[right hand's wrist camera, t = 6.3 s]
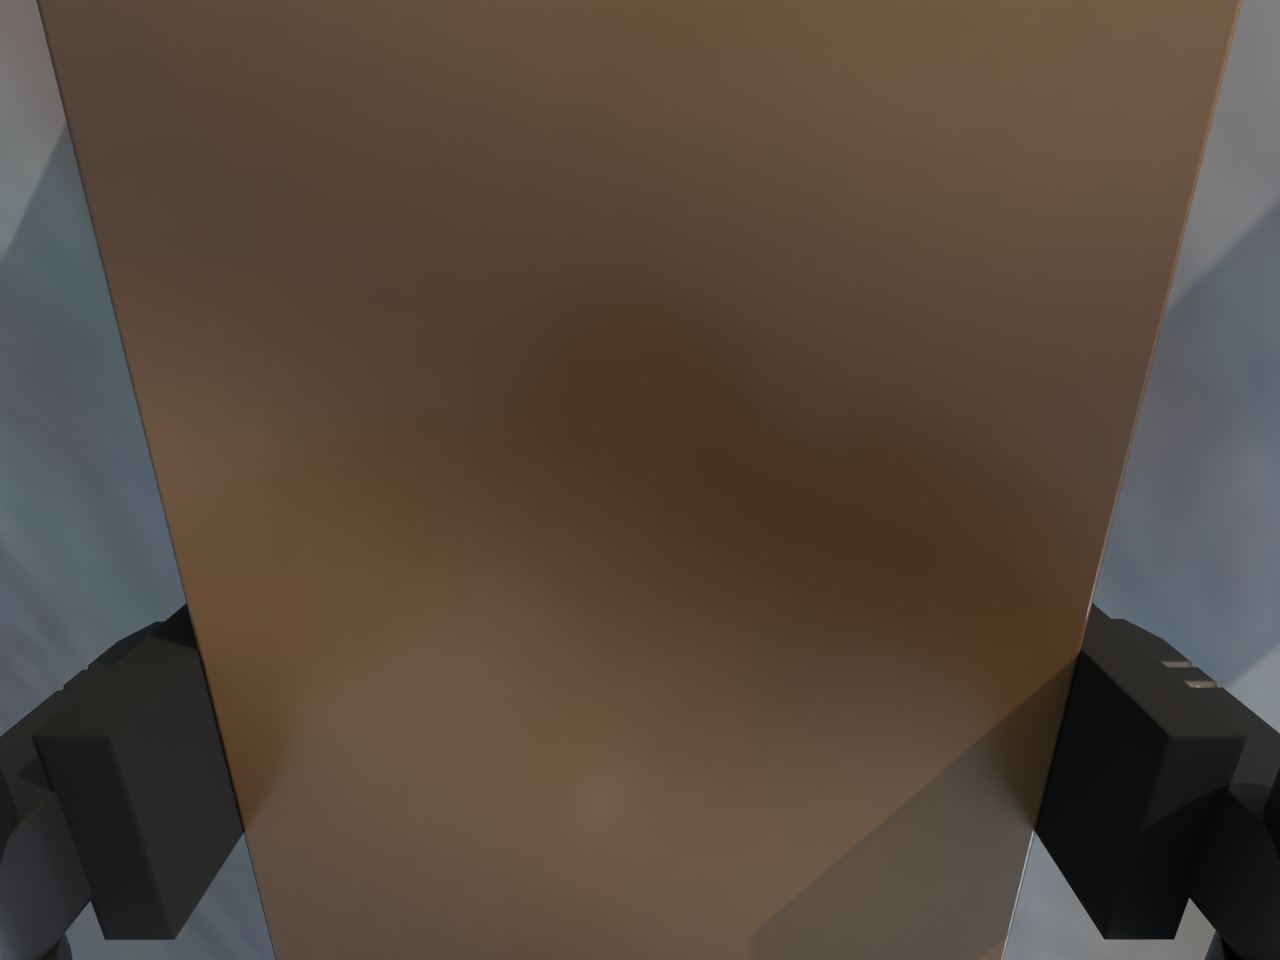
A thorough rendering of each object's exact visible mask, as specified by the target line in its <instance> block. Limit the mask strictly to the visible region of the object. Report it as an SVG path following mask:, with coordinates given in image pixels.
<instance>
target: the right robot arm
mask: <svg viewBox="0 0 1280 960" xmlns="http://www.w3.org/2000/svg"><path fill="white" fill-rule="evenodd" d="M243 832H244V831H243V827H242V823H241V819H240V815H239V811H238V807H237V803H236V799H235V795H234V791H233V787H232V783H231V779H230V775H229V771H228V767H227V762H226V758H225V754H224V750H223V746H222V742H221V738H220V734H219V730H218V726H217V722H216V718H215V714H214V710H213V706H212V702H211V698H210V694H209V690H208V686H207V682H206V678H205V674H204V670H203V666H202V662H201V658H200V654H199V650H198V646H197V642H196V638H195V634H194V630H193V626H192V622H191V618H190V614H189V610H188V606H187V603H186V604H185V605H184V606H183V607H182V608H180V609H179V610H178V611H177V612H176V613H175V614H173V615H172V616H171V617H170V618H169V619H167V620H166V621H165V622H155V623H153V624H151V625H149V626H147V627H145V628H143V629H141V630H139V631H137V632H135V633H133V634H131V635H129V636H128V637H126V638H124V639H122V640H120V641H118V642H116V643H115V644H114V645H113V646H111V647H110V648H109V649H108V650H107V651H105V652H104V653H103V654H102V655H100V656H99V657H98V658H97V659H95V660H94V661H93V662H92V663H91V664H89V665H88V670H82V671H81V672H80V673H78V674H77V675H76V676H75V677H73V678H72V679H71V680H70V681H68V682H67V683H66V684H65V685H64V688H63V690H62V691H56V692H55V693H54V694H52V695H51V696H50V697H49V698H48V699H46V700H45V701H44V702H43V703H41V704H40V705H39V706H38V707H36V708H35V709H34V710H33V711H32V712H30V713H29V714H28V715H27V716H25V717H24V718H23V719H22V720H21V721H19V722H18V723H17V724H16V725H14V726H13V727H12V728H11V729H9V730H8V731H7V732H6V733H5V734H3V735H2V736H1V737H0V960H72V954H71V947H70V945H69V942H68V939H67V937H66V934H65V932H66V930H67V929H68V928H69V927H70V925H71V924H72V923H73V922H74V920H75V919H76V918H77V917H78V915H79V914H80V913H81V912H82V910H83V909H84V908H85V907H86V905H87V904H88V903H89V902H90V900H91V902H92V905H93V908H94V911H95V913H96V916H97V919H98V922H99V924H100V927H101V930H102V933H103V935H104V938H105V940H175V938H176V937H177V935H178V933H179V932H180V930H181V929H182V927H183V926H184V924H185V923H186V921H187V919H188V918H189V916H190V915H191V913H192V912H193V910H194V909H195V907H196V905H197V904H198V902H199V901H200V899H201V898H202V896H203V895H204V893H205V892H206V890H207V888H208V887H209V885H210V884H211V882H212V881H213V879H214V878H215V876H216V874H217V873H218V871H219V870H220V868H221V867H222V865H223V864H224V862H225V860H226V859H227V857H228V856H229V854H230V853H231V851H232V850H233V848H234V846H235V845H236V843H237V842H238V840H239V839H240V837H241V836H242V834H243ZM1035 832H1036V834H1037V835H1038V837H1039V838H1040V840H1041V841H1042V843H1043V844H1044V846H1045V848H1046V849H1047V851H1048V852H1049V854H1050V855H1051V857H1052V858H1053V860H1054V862H1055V863H1056V865H1057V866H1058V868H1059V869H1060V871H1061V872H1062V874H1063V876H1064V877H1065V879H1066V880H1067V882H1068V883H1069V885H1070V886H1071V888H1072V890H1073V891H1074V893H1075V894H1076V896H1077V897H1078V899H1079V900H1080V902H1081V904H1082V905H1083V907H1084V908H1085V910H1086V911H1087V913H1088V914H1089V916H1090V918H1091V919H1092V921H1093V922H1094V924H1095V925H1096V927H1097V928H1098V930H1099V932H1100V933H1101V935H1102V936H1103V938H1104V939H1174V938H1175V935H1176V933H1177V930H1178V927H1179V924H1180V922H1181V919H1182V916H1183V913H1184V911H1185V908H1186V905H1187V902H1188V900H1189V897H1190V899H1191V900H1192V901H1193V902H1194V904H1195V905H1196V906H1197V907H1198V908H1199V910H1200V911H1201V912H1202V913H1203V915H1204V916H1205V917H1206V918H1207V920H1208V921H1209V922H1210V923H1211V925H1212V926H1213V927H1214V928H1215V930H1216V932H1215V934H1214V937H1213V939H1212V942H1211V945H1210V947H1209V950H1208V952H1207V955H1206V957H1205V960H1280V734H1279V733H1278V732H1277V731H1276V730H1275V729H1273V728H1272V727H1271V726H1270V725H1268V724H1267V723H1266V722H1265V721H1263V720H1262V719H1261V718H1260V717H1258V716H1257V715H1256V714H1255V713H1253V712H1252V711H1251V710H1250V709H1249V708H1247V707H1246V706H1245V705H1244V704H1242V703H1241V702H1240V701H1239V700H1237V699H1236V698H1235V697H1234V696H1232V695H1231V694H1230V693H1229V692H1227V691H1226V690H1225V689H1224V688H1217V686H1216V682H1215V681H1214V680H1213V679H1211V678H1210V677H1209V676H1208V675H1206V674H1205V673H1204V672H1203V671H1201V670H1200V669H1199V668H1198V667H1192V662H1190V661H1189V660H1188V659H1187V658H1185V657H1184V656H1183V655H1182V654H1180V653H1179V652H1178V651H1177V650H1175V649H1174V648H1173V647H1172V646H1170V645H1169V644H1168V643H1167V642H1166V641H1164V640H1163V639H1161V638H1159V637H1158V636H1156V635H1154V634H1152V633H1150V632H1148V631H1146V630H1144V629H1142V628H1140V627H1138V626H1136V625H1134V624H1132V623H1130V622H1128V621H1126V620H1124V619H1111V618H1109V617H1108V616H1107V615H1106V614H1105V613H1103V612H1102V611H1101V610H1100V609H1099V608H1098V607H1096V606H1095V605H1094V604H1093V603H1092V606H1091V610H1090V614H1089V618H1088V622H1087V626H1086V630H1085V634H1084V638H1083V642H1082V646H1081V650H1080V654H1079V658H1078V662H1077V666H1076V670H1075V674H1074V678H1073V682H1072V686H1071V690H1070V694H1069V698H1068V702H1067V706H1066V710H1065V714H1064V718H1063V722H1062V726H1061V730H1060V734H1059V738H1058V742H1057V746H1056V750H1055V754H1054V758H1053V762H1052V766H1051V770H1050V774H1049V778H1048V782H1047V786H1046V790H1045V795H1044V799H1043V803H1042V807H1041V811H1040V815H1039V819H1038V823H1037V827H1036V831H1035Z"/></svg>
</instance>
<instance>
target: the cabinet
mask: <svg viewBox="0 0 1280 960" xmlns="http://www.w3.org/2000/svg"><path fill="white" fill-rule="evenodd" d="M1241 3H1242V0H37V4H38V8H39V12H40V16H41V20H42V24H43V28H44V33H45V37H46V41H47V45H48V49H49V53H50V57H51V61H52V65H53V69H54V73H55V77H56V81H57V85H58V89H59V93H60V97H61V101H62V105H63V109H64V113H65V117H66V121H67V125H68V129H69V133H70V137H71V141H72V145H73V149H74V153H75V157H76V161H77V165H78V169H79V173H80V177H81V181H82V185H83V189H84V193H85V197H86V201H87V205H88V209H89V213H90V217H91V221H92V225H93V229H94V233H95V237H96V241H97V245H98V249H99V253H100V257H101V261H102V265H103V269H104V273H105V277H106V281H107V285H108V289H109V293H110V297H111V301H112V305H113V309H114V313H115V317H116V321H117V325H118V329H119V333H120V337H121V341H122V345H123V349H124V353H125V357H126V361H127V365H128V369H129V373H130V377H131V381H132V385H133V389H134V393H135V398H136V402H137V406H138V410H139V414H140V418H141V422H142V426H143V430H144V434H145V438H146V442H147V446H148V450H149V454H150V458H151V462H152V466H153V470H154V474H155V478H156V482H157V486H158V490H159V494H160V498H161V502H162V506H163V510H164V514H165V518H166V522H167V526H168V530H169V534H170V538H171V542H172V546H173V550H174V554H175V558H176V562H177V566H178V570H179V574H180V578H181V582H182V586H183V590H184V594H185V598H186V602H187V606H188V610H189V614H190V618H191V622H192V626H193V630H194V634H195V638H196V642H197V646H198V650H199V654H200V658H201V662H202V666H203V670H204V674H205V678H206V682H207V686H208V690H209V694H210V698H211V702H212V706H213V710H214V714H215V718H216V722H217V726H218V730H219V734H220V738H221V742H222V746H223V750H224V754H225V758H226V762H227V767H228V771H229V775H230V779H231V783H232V787H233V791H234V795H235V799H236V803H237V807H238V811H239V815H240V819H241V823H242V827H243V831H244V835H245V839H246V843H247V847H248V851H249V855H250V859H251V863H252V867H253V871H254V875H255V879H256V883H257V887H258V891H259V895H260V899H261V903H262V907H263V911H264V915H265V919H266V923H267V927H268V931H269V935H270V939H271V943H272V947H273V951H274V955H275V959H276V960H1003V959H1004V955H1005V951H1006V947H1007V943H1008V939H1009V935H1010V931H1011V927H1012V923H1013V919H1014V915H1015V911H1016V907H1017V903H1018V899H1019V895H1020V891H1021V887H1022V883H1023V879H1024V875H1025V871H1026V867H1027V863H1028V859H1029V855H1030V851H1031V847H1032V843H1033V839H1034V835H1035V831H1036V827H1037V823H1038V819H1039V815H1040V811H1041V807H1042V803H1043V799H1044V795H1045V790H1046V786H1047V782H1048V778H1049V774H1050V770H1051V766H1052V762H1053V758H1054V754H1055V750H1056V746H1057V742H1058V738H1059V734H1060V730H1061V726H1062V722H1063V718H1064V714H1065V710H1066V706H1067V702H1068V698H1069V694H1070V690H1071V686H1072V682H1073V678H1074V674H1075V670H1076V666H1077V662H1078V658H1079V654H1080V650H1081V646H1082V642H1083V638H1084V634H1085V630H1086V626H1087V622H1088V618H1089V614H1090V610H1091V606H1092V602H1093V598H1094V594H1095V590H1096V586H1097V582H1098V578H1099V574H1100V570H1101V566H1102V561H1103V557H1104V553H1105V549H1106V545H1107V541H1108V537H1109V533H1110V529H1111V525H1112V521H1113V517H1114V513H1115V509H1116V505H1117V501H1118V497H1119V493H1120V489H1121V485H1122V481H1123V477H1124V473H1125V469H1126V465H1127V461H1128V457H1129V453H1130V449H1131V445H1132V441H1133V437H1134V433H1135V429H1136V425H1137V421H1138V417H1139V413H1140V409H1141V405H1142V401H1143V397H1144V393H1145V389H1146V385H1147V381H1148V377H1149V373H1150V369H1151V365H1152V361H1153V357H1154V353H1155V349H1156V345H1157V341H1158V337H1159V332H1160V328H1161V324H1162V320H1163V316H1164V312H1165V308H1166V304H1167V300H1168V296H1169V292H1170V288H1171V284H1172V280H1173V276H1174V272H1175V268H1176V264H1177V260H1178V256H1179V252H1180V248H1181V244H1182V240H1183V236H1184V232H1185V228H1186V224H1187V220H1188V216H1189V212H1190V208H1191V204H1192V200H1193V196H1194V192H1195V188H1196V184H1197V180H1198V176H1199V172H1200V168H1201V164H1202V160H1203V156H1204V152H1205V148H1206V144H1207V140H1208V136H1209V132H1210V128H1211V124H1212V120H1213V116H1214V112H1215V108H1216V103H1217V99H1218V95H1219V91H1220V87H1221V83H1222V79H1223V75H1224V71H1225V67H1226V63H1227V59H1228V55H1229V51H1230V47H1231V43H1232V39H1233V35H1234V31H1235V27H1236V23H1237V19H1238V15H1239V11H1240V7H1241Z"/></svg>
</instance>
